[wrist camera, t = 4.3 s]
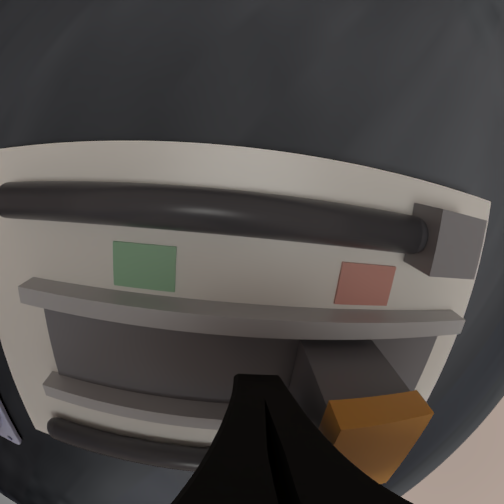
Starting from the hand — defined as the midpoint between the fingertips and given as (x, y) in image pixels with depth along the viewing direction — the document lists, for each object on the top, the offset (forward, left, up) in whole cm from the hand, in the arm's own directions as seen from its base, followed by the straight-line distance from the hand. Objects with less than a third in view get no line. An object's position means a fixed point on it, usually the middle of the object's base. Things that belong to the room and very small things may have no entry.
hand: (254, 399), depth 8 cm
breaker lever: (+3, 0, -1) cm, 3 cm away
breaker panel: (-1, 0, -3) cm, 3 cm away
